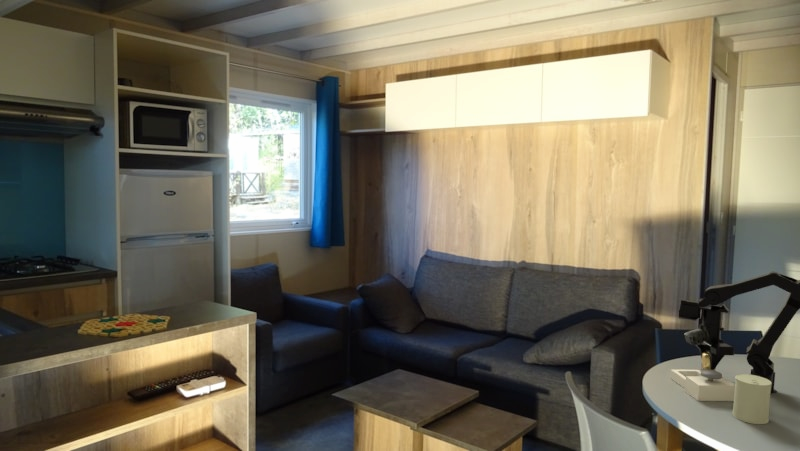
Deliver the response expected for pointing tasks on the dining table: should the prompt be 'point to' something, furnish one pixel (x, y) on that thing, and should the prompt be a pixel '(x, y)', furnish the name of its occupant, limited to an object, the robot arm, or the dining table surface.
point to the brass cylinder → (706, 361)
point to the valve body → (704, 384)
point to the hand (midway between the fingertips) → (708, 367)
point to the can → (751, 398)
